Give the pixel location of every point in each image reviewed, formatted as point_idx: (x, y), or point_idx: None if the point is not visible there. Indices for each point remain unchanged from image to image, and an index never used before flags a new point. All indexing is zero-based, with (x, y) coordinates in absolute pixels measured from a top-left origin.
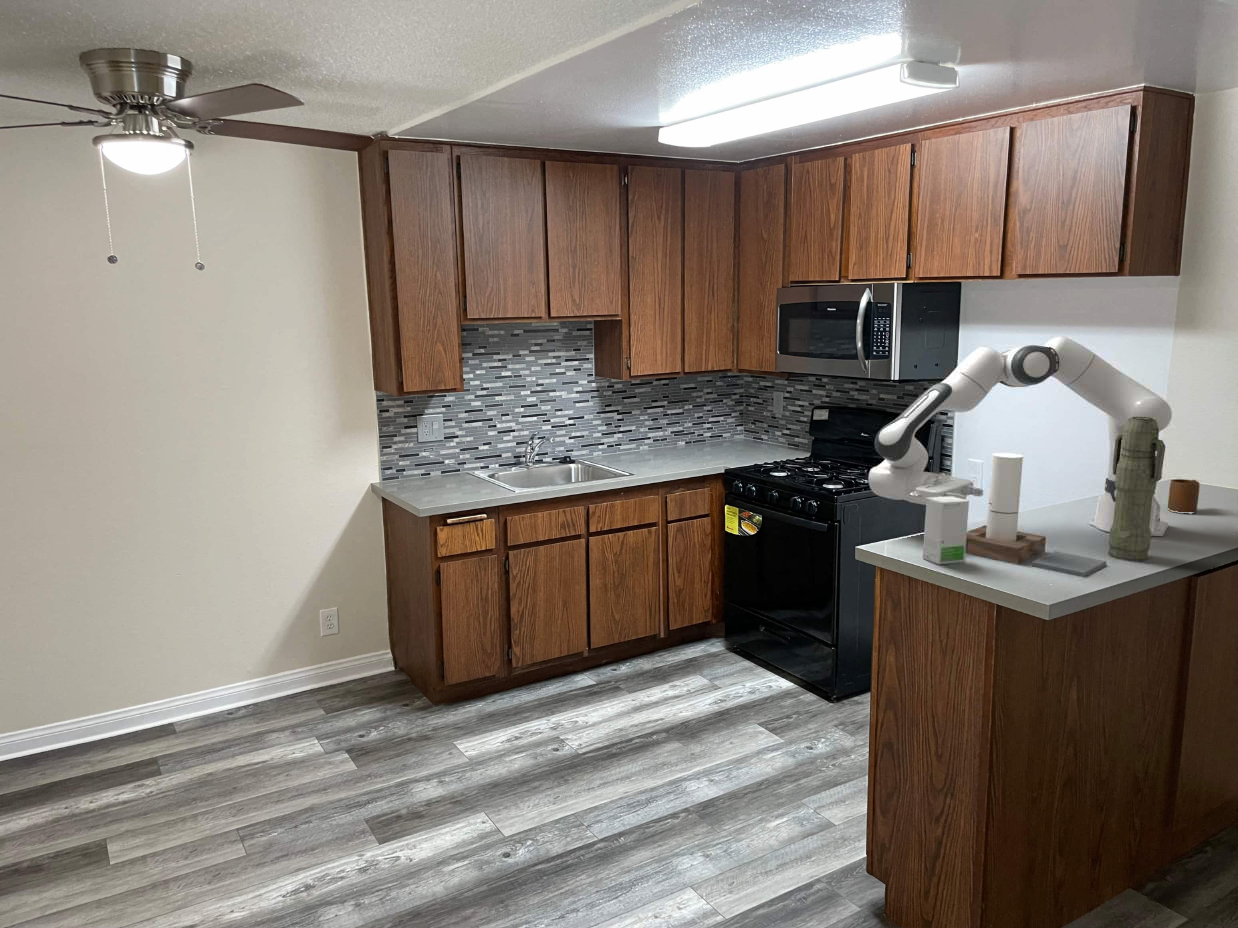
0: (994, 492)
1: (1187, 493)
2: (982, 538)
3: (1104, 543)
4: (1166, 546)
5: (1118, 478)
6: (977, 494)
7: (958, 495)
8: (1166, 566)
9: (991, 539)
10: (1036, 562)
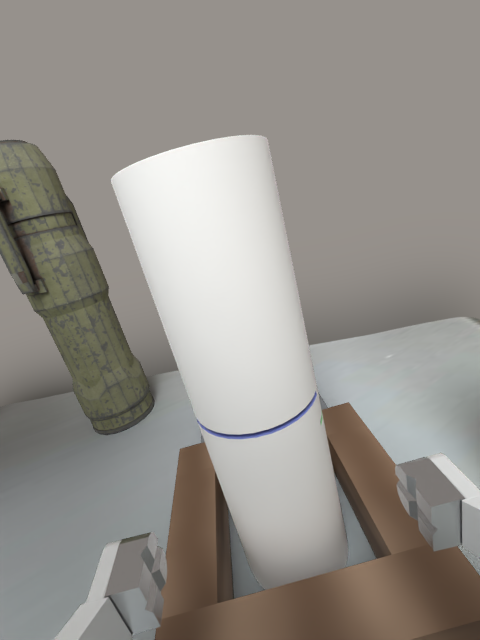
0: (306, 335)
1: None
2: (383, 506)
3: (33, 476)
4: (21, 430)
5: (81, 278)
6: (155, 582)
7: (471, 486)
8: (153, 377)
9: (356, 484)
10: (324, 408)
